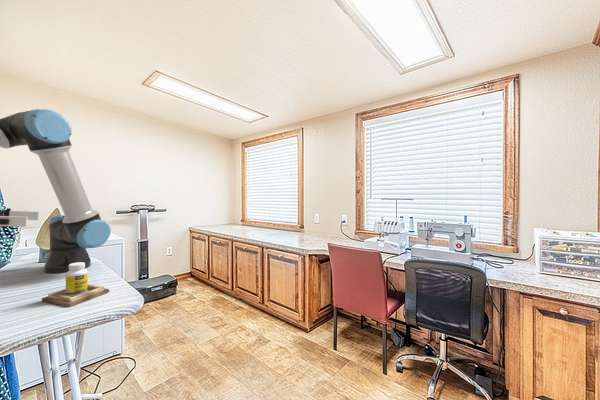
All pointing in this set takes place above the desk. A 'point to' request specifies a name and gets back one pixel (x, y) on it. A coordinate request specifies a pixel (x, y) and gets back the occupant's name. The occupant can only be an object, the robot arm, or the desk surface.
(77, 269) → the supplement bottle
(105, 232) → the robot arm
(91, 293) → the walnut board
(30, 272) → the desk surface
